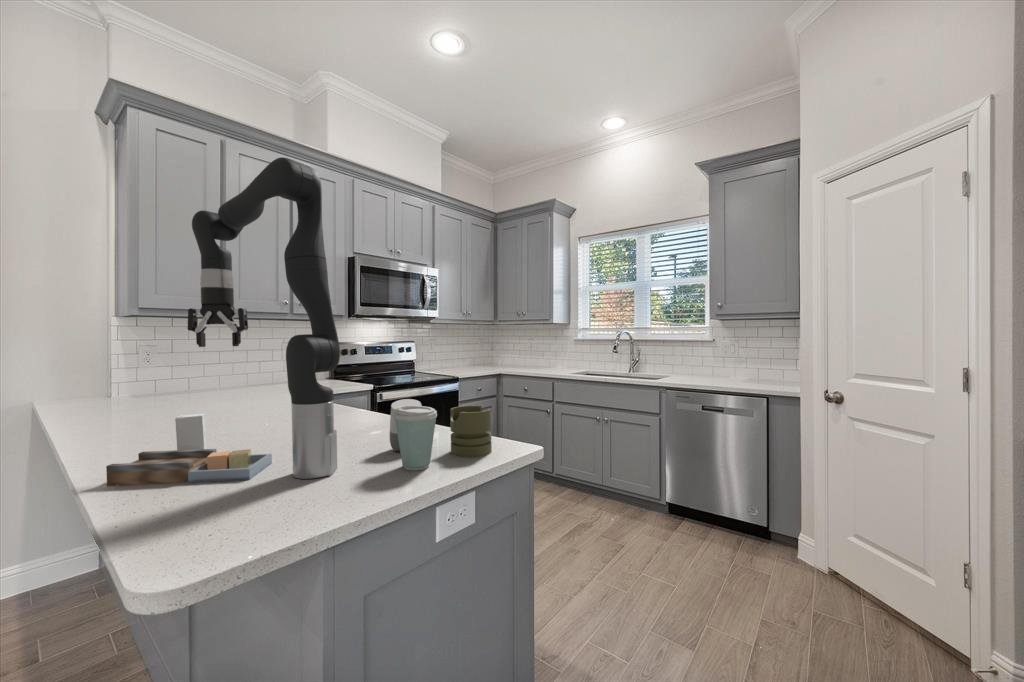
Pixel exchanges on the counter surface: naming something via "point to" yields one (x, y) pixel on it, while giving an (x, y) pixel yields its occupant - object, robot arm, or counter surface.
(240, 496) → the counter surface
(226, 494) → the counter surface
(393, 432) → the smart speaker
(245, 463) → the olive yellow cube
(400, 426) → the disposable coffee cup
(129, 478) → the slotted board
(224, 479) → the tray
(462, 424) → the piston
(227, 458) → the orange cube
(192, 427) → the skincare box
